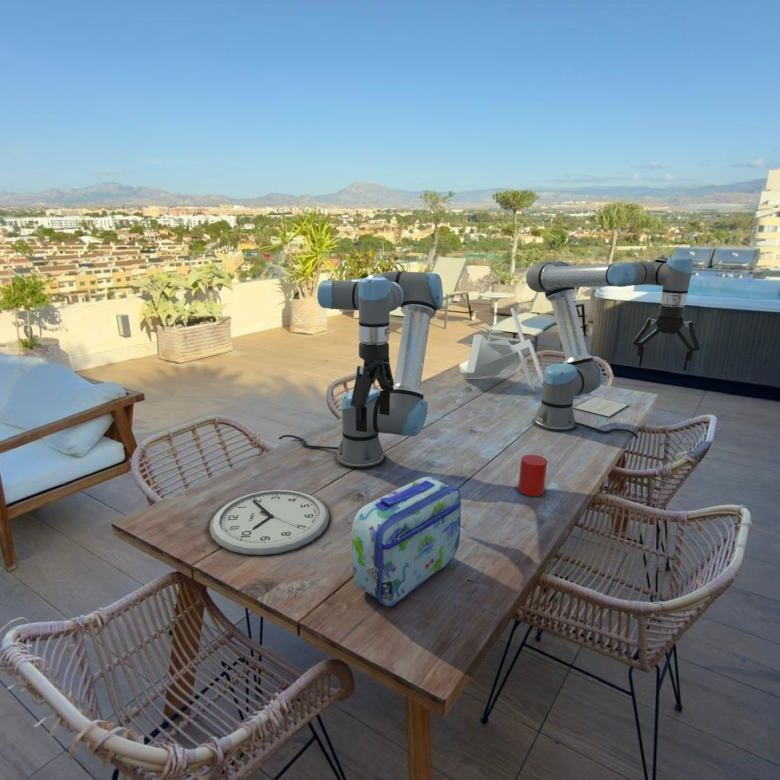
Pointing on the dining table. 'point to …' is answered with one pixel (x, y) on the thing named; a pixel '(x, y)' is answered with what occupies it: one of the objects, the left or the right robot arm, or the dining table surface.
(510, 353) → the white plastic object
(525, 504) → the dining table surface
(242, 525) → the wall clock
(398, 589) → the lunch box
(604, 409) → the invitation card
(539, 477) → the tin
